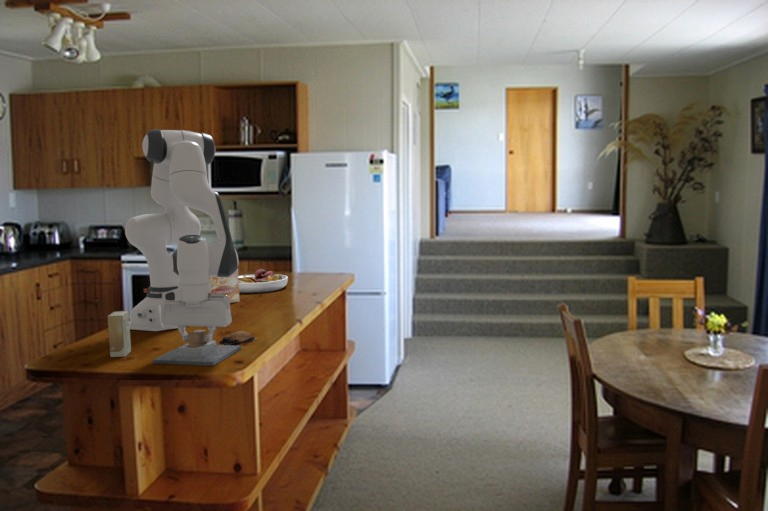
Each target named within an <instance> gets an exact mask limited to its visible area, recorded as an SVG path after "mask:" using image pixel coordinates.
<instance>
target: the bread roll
mask: <svg viewBox="0 0 768 511" xmlns="http://www.w3.org/2000/svg"><path fill="white" fill-rule="evenodd" d="M257 340H258V338H257V337H254V336H252V335H251V334H250V333H248V332H247V331H245V330H244V331H243V330H238V331H235V332H231V334H229V335H228V336H223V337H222V340H221V341H219V342H218V345H233V346H242V345H244V344H248V343H252V342H254V341H257Z"/></svg>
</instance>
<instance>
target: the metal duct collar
mask: <svg viewBox="0 0 768 511" xmlns="http://www.w3.org/2000/svg"><path fill="white" fill-rule="evenodd" d="M240 350H242V345H237V346H233V345H223V344H217V340H212V342H207V343H206V344H204V345H203V346H201V347H189V344H188V342H187V343H184V344H183V345H180V346H178V347H176V348H175V349H172V350H170V351H168V352H165V353H164V354H162V355H159V356H157V357H156V358H154V359H152V364H153V365H154V364H156V365H157V364H158V365H180V366H181V365H183V366H205V367H206V366H207V367H208V366H209V367H210V366H211V367H212V366H216V365H217V364H219V363H221V362H222V361H224V360H227V358H229V357H230V356H232V355H233V354H235V353H237V352H239V351H240Z"/></svg>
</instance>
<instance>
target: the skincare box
mask: <svg viewBox="0 0 768 511" xmlns="http://www.w3.org/2000/svg"><path fill="white" fill-rule="evenodd" d="M129 322H130V314H129V310H124V311H123V310H119V311H113V312H111V313H110V314H108V315H107V327H108V328H107V329H108V340H109V355H110V358H119V357H120V358H121V357H123V358H124V357H125V358H126V356H128V355H129V354H130V353H131V352H132V344H131V343H132V342H131V329H130V327H129Z"/></svg>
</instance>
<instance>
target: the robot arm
mask: <svg viewBox="0 0 768 511" xmlns="http://www.w3.org/2000/svg"><path fill="white" fill-rule="evenodd" d="M141 147H142V152H143V156H144V157H145V159H147V161H148V162H151V163H153V168H152V176H151V185H150V186H151V187H150V196H151V199H153V201H154V202H155V203H156V204H158V205H160V206H162V207H164V212H162V213H147V214H141V215H140V214H139V215H137V216H133V217H130V218H129V219H128V220H127V222H126V224H125V228H124V234H125V237H126V239H127V241H128V243H129V244H130V245H132V246H133V247H135V248H137V250H138V251H140V252H141V253H142V255H143V256H144V259H145V261H146V263H147V265H148V272H149V281H150V285H149V286H148V287H147V288H143V293H146V294H145V295H146V296H145V297H144V299H143V300H141V301H140V302H139V303H137V305H135V306H134V307H133V308H132V309H131V311H130V315H129V327H130V330H136V331H148V332H160V331H166V330H174V329H175V330H176V329H177V331H179V333H180V335H181V337H182V341H183V342H188V332H187V330H186V329H187V327H207V330H208V334H206V336H205V342H212V341H214V340H213V338H214V337H213V335H214V334H215V331H216V329H217V327H218V328H226V327H228V326H230V324H231V323H232V321H233V319H232V311H231V307H230V306H231V303H230V299H229V297H228V296H226V295H225V294H222V293H221V294H216V293H211V281H210V278H209V277H216V276H217V277H229V276H231V275H232V274H233V273H234V272H235V271H236V270H237V269H238V270H239V262H240V261H239V255H238V252H237V249H236V247H235V245H234V240H233V237H232V233H231V230H230V227H229V222H228V218H227V213H226V210H225V208H224V207H225V206H224V204H223V201H222V199H221V196H220V194H219V193H218V192H217V191H215V190H213V188H212V187H211V185H210V184H209V180H208V172H207V171H208V170H207V166H209V165H210V164H211V163H213V161H214V158H215V156H216V144H215V140H214V139H213V137H212V136H211V135H210V134H208V133H204V132H200V133H199V132H195V131H191V130H184V129H179V130H178V129H177V130H176V129H175V130H174V129H162V130H161V129H160V128H156V129H155V128H154V129H150V130H148V131H147V132H146V133H145V135H144V137H143V140H142V146H141ZM191 209H194V210H196V211H197V210H198V211H199V212H202V213H204V214H206V215H208V217H210V218H211V220H212V222H213V226H214V230H215V234H216V236H217V237H216V238H217V240H218V241H217V242H216V243H210V244H208V243H207V239H206V237H205V236H203V235H201V232H202V227H201V226H202V225H201V222H200V219H199V218H198V217H197V215H196V214H194V213H193V212H192V211H191ZM174 245H177V248H176V249H175V250H174V251H173V253H172V254H170V253H169V252H168V248H167V246H174Z"/></svg>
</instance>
